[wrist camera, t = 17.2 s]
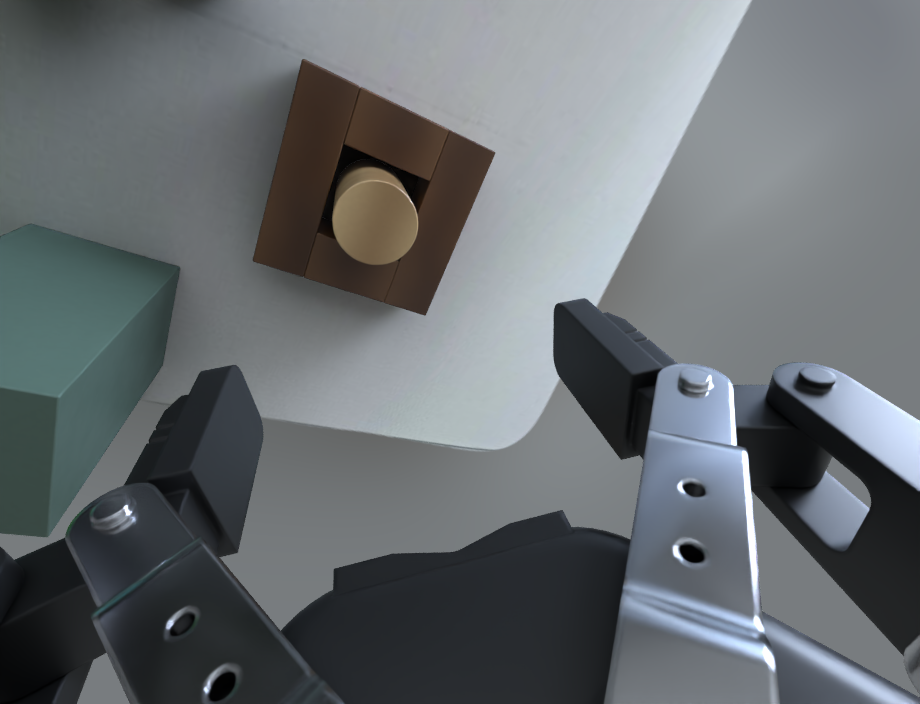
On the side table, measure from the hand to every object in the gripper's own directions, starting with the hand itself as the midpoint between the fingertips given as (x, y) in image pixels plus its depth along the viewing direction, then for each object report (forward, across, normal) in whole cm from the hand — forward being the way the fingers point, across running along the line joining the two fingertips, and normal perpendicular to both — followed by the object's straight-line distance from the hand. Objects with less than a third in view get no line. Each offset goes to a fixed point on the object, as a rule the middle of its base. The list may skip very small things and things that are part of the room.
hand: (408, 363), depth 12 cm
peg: (+22, 0, 0) cm, 22 cm away
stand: (+22, +18, +4) cm, 29 cm away
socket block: (+22, 0, 0) cm, 22 cm away
